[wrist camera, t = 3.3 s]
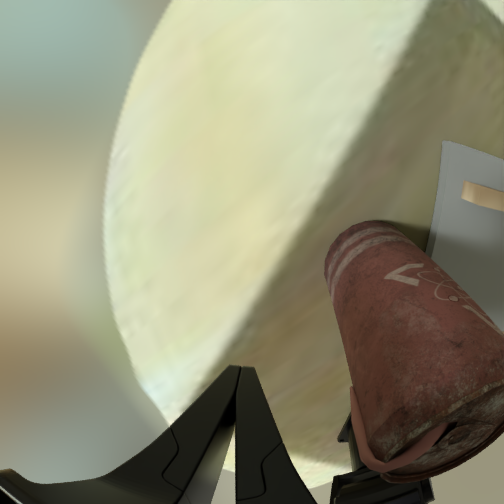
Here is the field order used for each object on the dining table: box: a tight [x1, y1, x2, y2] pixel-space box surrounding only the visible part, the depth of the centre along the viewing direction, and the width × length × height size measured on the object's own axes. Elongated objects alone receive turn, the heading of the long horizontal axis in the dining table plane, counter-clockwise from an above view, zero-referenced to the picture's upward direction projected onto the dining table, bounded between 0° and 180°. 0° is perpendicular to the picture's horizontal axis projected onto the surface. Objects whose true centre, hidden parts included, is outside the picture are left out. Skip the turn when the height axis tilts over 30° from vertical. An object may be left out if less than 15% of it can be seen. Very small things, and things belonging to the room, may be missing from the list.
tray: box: [425, 141, 504, 334], centre depth 16 cm, size 18×14×3 cm
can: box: [324, 221, 504, 483], centre depth 12 cm, size 6×6×14 cm
